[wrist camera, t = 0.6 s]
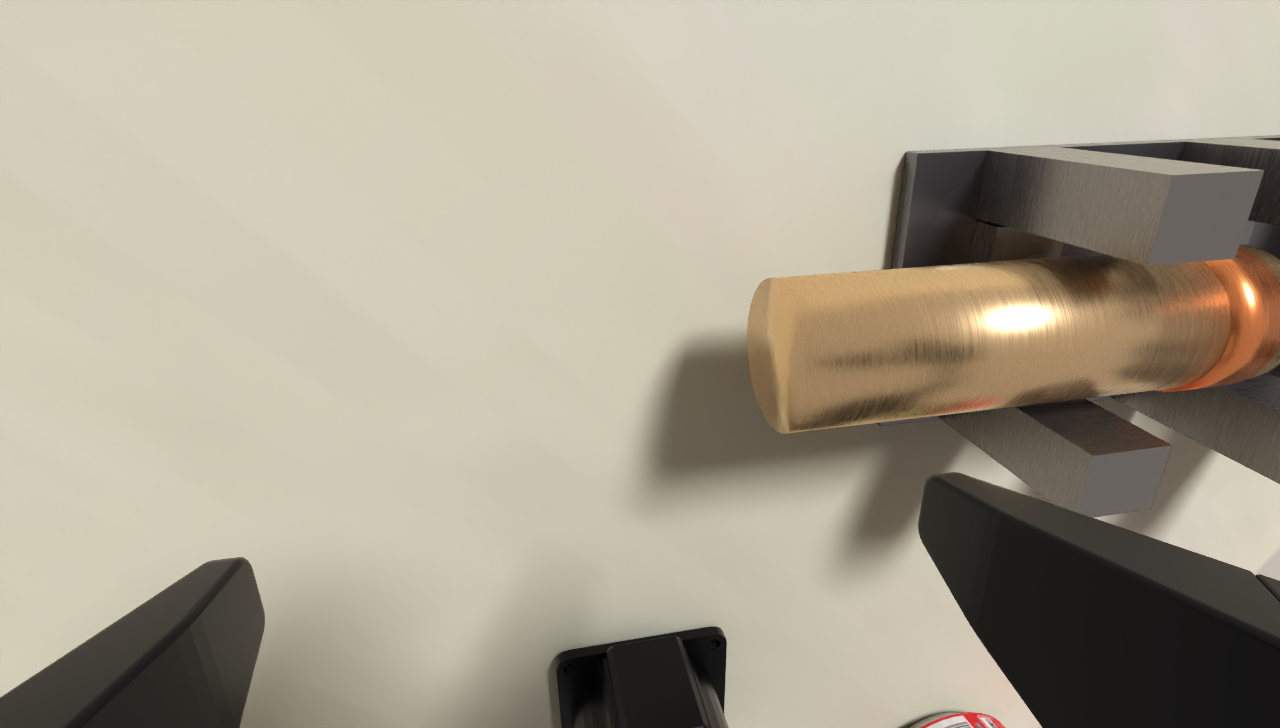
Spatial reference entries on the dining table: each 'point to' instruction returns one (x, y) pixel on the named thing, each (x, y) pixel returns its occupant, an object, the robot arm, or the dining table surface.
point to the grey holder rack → (1117, 226)
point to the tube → (1005, 335)
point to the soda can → (958, 721)
